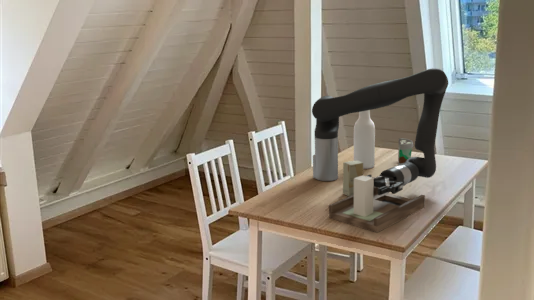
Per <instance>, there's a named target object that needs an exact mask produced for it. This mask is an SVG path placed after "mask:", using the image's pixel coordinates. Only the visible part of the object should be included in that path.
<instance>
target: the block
mask: <svg viewBox="0 0 534 300" xmlns="http://www.w3.org/2000/svg"><path fill="white" fill-rule="evenodd" d="M372 177H373V176H372ZM372 177H367V175H364V174H363V175H362V176H359V177H356V178H354V214H357V215H361V216H364V217H366V216H368V215H370V214H372V213H373V185H374V178H372Z"/></svg>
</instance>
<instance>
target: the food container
mask: <svg viewBox="0 0 534 300" xmlns="http://www.w3.org/2000/svg"><path fill="white" fill-rule="evenodd" d="M413 148H415V144H414V143H413V140H411V139H408V138H402V137H401V138H400V137H399V138H398V149H397V150H398V153H397V154H398V157H397V160H398V162H397V163H398V165H401V164H404V163H405V162H406V161H407V159H409V158H410V157H412V152H413V151H412V150H413Z"/></svg>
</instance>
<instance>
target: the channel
mask: <svg viewBox="0 0 534 300" xmlns="http://www.w3.org/2000/svg"><path fill="white" fill-rule="evenodd" d="M425 198H426V195H425V194H420V195H418V196H416V197H414V198H409V197H405V196H401V195H397V194H392V193H390V192H389V193H385V194H382V195H378V188H373V213H372V214H370V215H368V216H366V217H364V216H361V215H357V214H354V195H352V196H347V197H345V198H343V199H342V198H341V199H340V200H338V201H335V202H334V203H331V204H329V205H328V215H329V216H328V217H329V219H332V220H335V221H338V222H342V223H345V224H348V225H352V226H355V227H358V228H360V229H364V230H366V231H367V230H368V231H371V232H374V233H379V232H381V231H382V230H384V229H387V228H389V227H390V226H393V225H394V224H396V223H398V222H400V221H402V220H404V219H406V218H407V217H409V216H411V215H413V214H416V213H418V212H419V211H421V210H423V209H425V202H426V201H425V200H426V199H425Z"/></svg>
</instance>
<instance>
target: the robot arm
mask: <svg viewBox="0 0 534 300" xmlns="http://www.w3.org/2000/svg"><path fill="white" fill-rule="evenodd" d="M448 85H449V79H448V76H447V74H446V73H445V72H444V71H443V69H440V68H437V67H431V68H427V69H425V70H422V71H420V72H418V73H414V74H411V75H409V76H405V77H401V78H397V79H396V78H395V79H391V80H386V81H382V82H378V83H373V84H370V85H366V86H363V87H361V88H359V89H357V90H353V91H352V92H349V93H347V94H345V95H340V96H335V97H334V96H331V95H324V96H321V97H320V98H318V99H317V100H316V101H315V102H314V103H313V106H312V110H311V113H312V116H313V117H314V118H315V123H316V124H315V128H314V154H313V155H312V178H313V179H316V180H318V181H321V182H322V181H323V182H332V181H335V180H338V178H339V138H338V137H339V128H340V127H339V126H340V117H342V116H343V117H344V116H347V115H349V114H353V113H354V114H355V113H359V112H362V111H367V110H370V111H371V110H377V109H381V108H384V107H388V106H391V105H394V104H396V103H398V102H400V101H402V100H404V99H407V98H408V97H409V98H410V97H412V96H417V95H423V106H422V111H421V114H420V117H419V121H418V125H417V130H416V134H415V135H416V136H415V141H414V149H416V150H417V151H420V152H422V154H423V156H421V157H420V156H411V157H410V158H409V159H407V161H406V162H405V163H404V164H401V165H399V164H398V165H395V166H392V167H390V168H387V169H385V170H382V172H380V174H379V175H377V176H372V174H368V175H366V176H367V177H372V178H374V185H373V188H378V195H382V194H385V193H389V194H390V193H391V194H393V195H396V194H397V193H399V192H401V191H402V190H403V188H404V186H407V185H408V184H411V183H412V182H414V181H416V180H417V179H418V177H421V178H427V179H428V178H432V177H433V176H434V175H435V173H436V171H437V161H436V152H435V144H436V139H437V131H438V126H439V125H438V124H439V119H440V118H439V117H440V114H441V113H440V112H441V107H442V104H443V100H444V98H445V94H446V92H447V89H448Z"/></svg>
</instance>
